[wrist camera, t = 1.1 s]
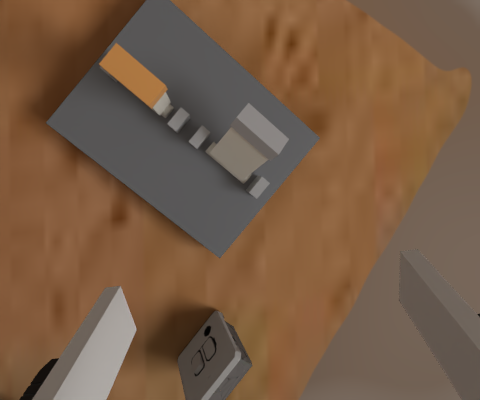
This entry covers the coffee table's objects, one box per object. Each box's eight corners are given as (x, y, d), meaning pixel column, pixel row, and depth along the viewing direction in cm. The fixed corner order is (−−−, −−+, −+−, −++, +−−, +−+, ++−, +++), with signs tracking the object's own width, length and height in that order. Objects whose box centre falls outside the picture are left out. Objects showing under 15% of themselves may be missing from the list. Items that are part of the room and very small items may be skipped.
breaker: (239, 187, 40) (281, 156, 32) (201, 155, 39) (233, 115, 31) (249, 174, 41) (291, 141, 33) (212, 143, 40) (246, 100, 32)
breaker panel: (218, 249, 46) (221, 266, 38) (60, 126, 41) (31, 119, 34) (309, 140, 45) (329, 135, 38) (160, 4, 41) (152, -29, 34)
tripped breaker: (163, 121, 39) (151, 108, 29) (122, 86, 38) (95, 61, 28) (176, 105, 39) (168, 87, 29) (135, 70, 38) (113, 40, 28)
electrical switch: (216, 306, 47) (226, 346, 38) (243, 324, 48) (259, 366, 39) (176, 357, 47) (176, 408, 38) (204, 373, 48) (211, 427, 39)
